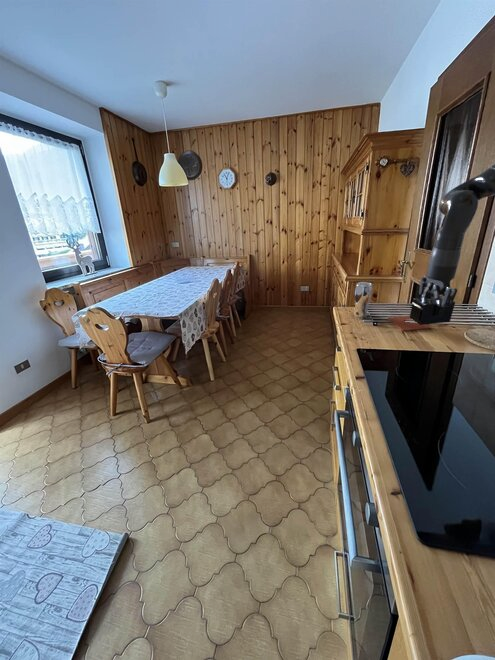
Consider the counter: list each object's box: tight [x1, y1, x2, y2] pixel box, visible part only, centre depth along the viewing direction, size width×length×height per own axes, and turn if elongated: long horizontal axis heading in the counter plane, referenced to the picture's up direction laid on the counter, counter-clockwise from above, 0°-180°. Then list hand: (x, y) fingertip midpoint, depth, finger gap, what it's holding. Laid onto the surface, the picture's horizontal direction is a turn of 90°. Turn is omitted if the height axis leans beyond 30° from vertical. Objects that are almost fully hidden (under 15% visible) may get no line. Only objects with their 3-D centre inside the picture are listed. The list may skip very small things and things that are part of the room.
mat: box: [387, 315, 432, 332], centre depth 121 cm, size 12×12×1 cm
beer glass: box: [353, 281, 373, 319], centre depth 127 cm, size 7×7×15 cm
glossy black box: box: [409, 295, 456, 325], centre depth 93 cm, size 11×6×7 cm, turn 94°
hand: (430, 312), depth 94 cm, fingers closed on glossy black box, 6 cm apart
